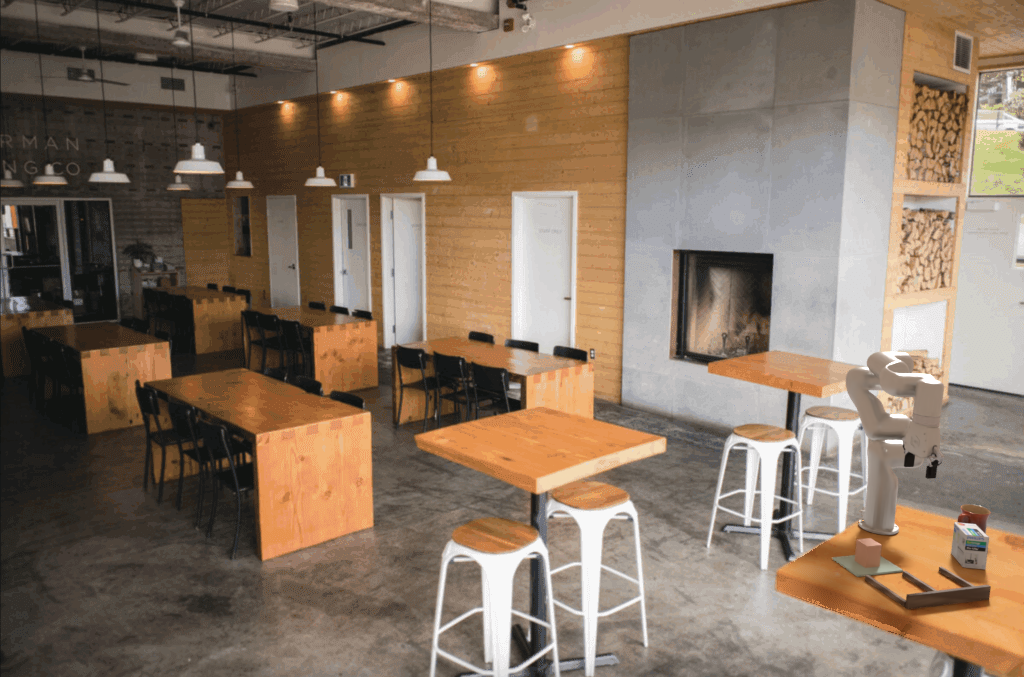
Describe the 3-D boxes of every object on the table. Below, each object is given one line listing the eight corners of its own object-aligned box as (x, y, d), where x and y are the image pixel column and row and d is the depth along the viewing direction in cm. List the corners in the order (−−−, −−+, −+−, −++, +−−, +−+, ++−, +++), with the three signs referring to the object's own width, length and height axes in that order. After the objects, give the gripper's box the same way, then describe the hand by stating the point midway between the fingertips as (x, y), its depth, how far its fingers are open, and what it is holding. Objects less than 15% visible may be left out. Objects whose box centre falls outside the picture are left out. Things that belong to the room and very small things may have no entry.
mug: (968, 531, 261) (972, 502, 259) (993, 541, 253) (996, 512, 251) (944, 536, 256) (947, 507, 255) (968, 547, 248) (972, 517, 247)
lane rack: (864, 579, 225) (865, 567, 224) (941, 571, 231) (942, 558, 230) (907, 609, 208) (909, 596, 207) (989, 599, 214) (990, 586, 214)
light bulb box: (986, 570, 232) (990, 537, 230) (962, 568, 233) (966, 535, 232) (972, 555, 243) (976, 523, 241) (949, 553, 244) (953, 521, 242)
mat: (831, 559, 238) (831, 557, 238) (875, 554, 242) (875, 552, 242) (857, 576, 227) (857, 575, 226) (902, 571, 230) (903, 570, 230)
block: (854, 560, 236) (856, 539, 235) (868, 559, 237) (870, 538, 236) (865, 567, 231) (867, 546, 230) (879, 566, 232) (881, 544, 231)
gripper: (896, 411, 240) (890, 463, 243) (935, 428, 223) (928, 483, 226) (917, 411, 241) (910, 462, 244) (957, 427, 225) (950, 482, 228)
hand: (919, 472), depth 235 cm, fingers open, 9 cm apart
